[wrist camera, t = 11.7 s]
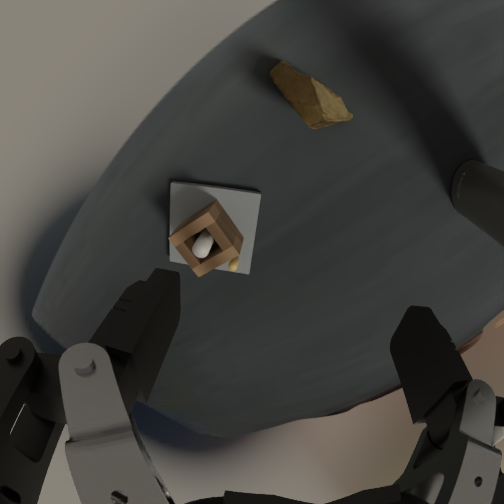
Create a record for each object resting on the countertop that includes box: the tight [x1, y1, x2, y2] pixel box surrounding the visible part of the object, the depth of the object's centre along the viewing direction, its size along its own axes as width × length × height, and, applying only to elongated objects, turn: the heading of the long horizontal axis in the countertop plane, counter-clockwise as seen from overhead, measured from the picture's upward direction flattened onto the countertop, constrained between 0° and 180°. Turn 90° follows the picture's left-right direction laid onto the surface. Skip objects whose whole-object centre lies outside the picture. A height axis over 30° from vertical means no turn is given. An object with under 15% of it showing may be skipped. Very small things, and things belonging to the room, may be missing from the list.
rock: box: [269, 61, 352, 129], centre depth 26 cm, size 11×9×10 cm
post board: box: [170, 181, 261, 274], centre depth 35 cm, size 12×12×7 cm
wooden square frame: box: [168, 199, 244, 277], centre depth 35 cm, size 6×6×5 cm
